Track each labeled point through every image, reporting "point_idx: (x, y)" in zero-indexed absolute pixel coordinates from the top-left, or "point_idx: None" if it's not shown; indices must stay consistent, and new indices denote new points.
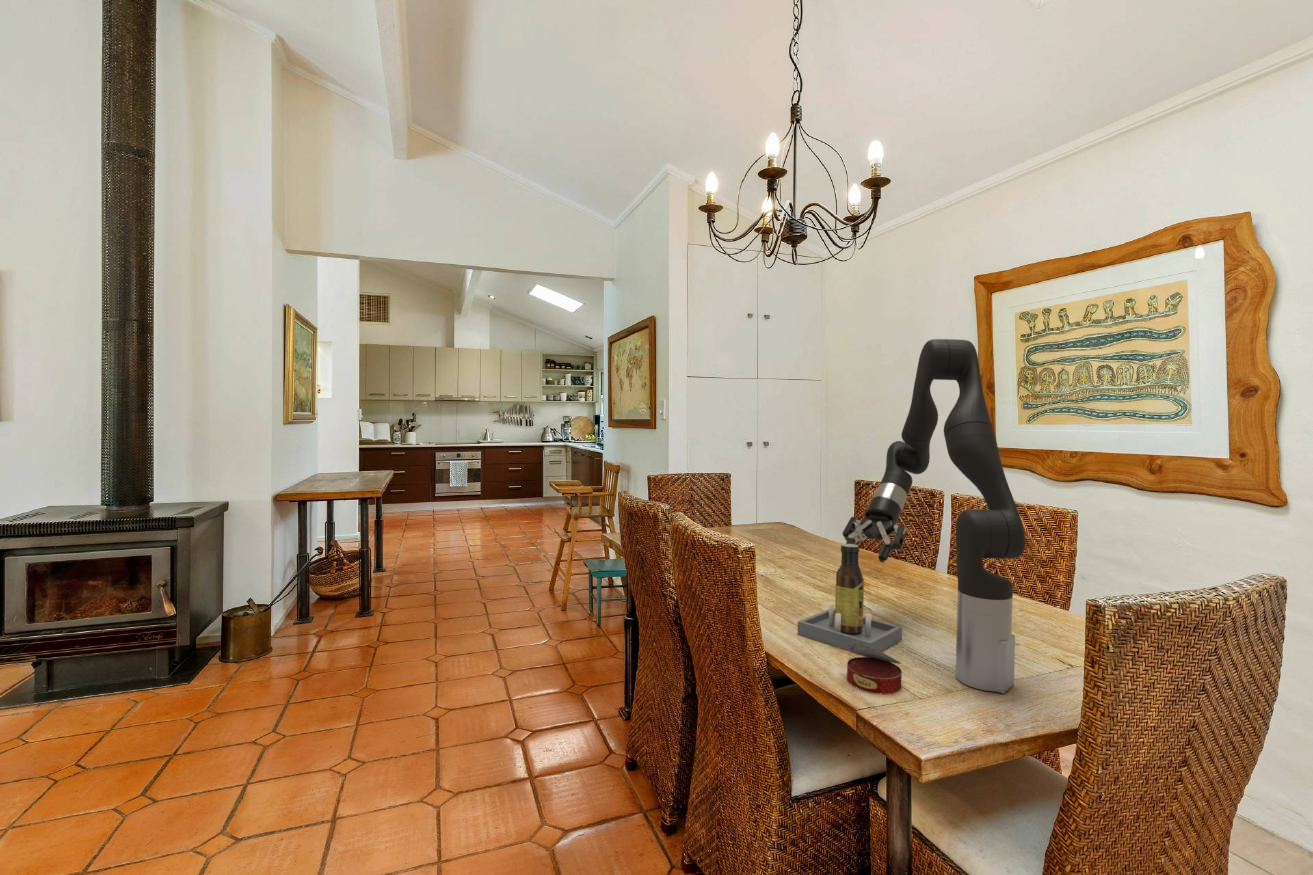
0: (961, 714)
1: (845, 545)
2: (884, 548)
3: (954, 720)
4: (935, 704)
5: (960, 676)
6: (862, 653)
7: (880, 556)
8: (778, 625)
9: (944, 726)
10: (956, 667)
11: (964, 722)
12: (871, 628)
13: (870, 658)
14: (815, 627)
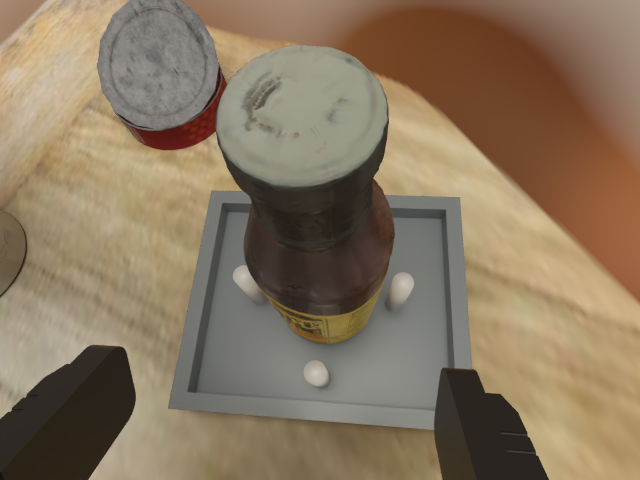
0: (21, 99)
1: (323, 65)
2: (13, 421)
3: (32, 75)
4: (62, 102)
5: (7, 216)
6: (182, 61)
7: (95, 345)
8: (539, 237)
9: (46, 51)
10: (5, 225)
11: (17, 80)
12: (278, 378)
13: (188, 122)
14: (391, 196)
